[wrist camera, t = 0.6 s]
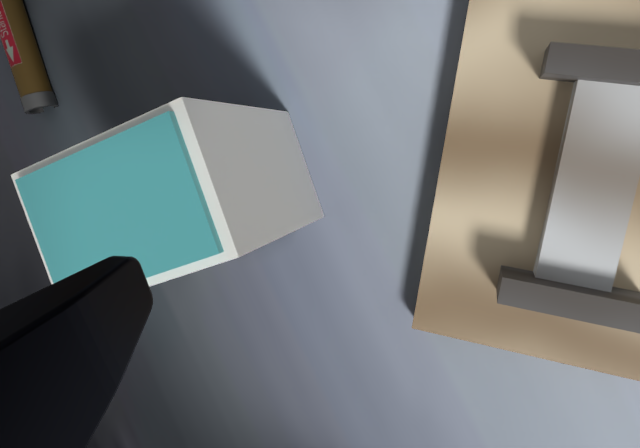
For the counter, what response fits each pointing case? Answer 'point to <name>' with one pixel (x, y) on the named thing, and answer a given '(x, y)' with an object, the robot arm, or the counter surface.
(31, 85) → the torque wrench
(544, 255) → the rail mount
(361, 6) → the counter surface
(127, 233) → the panel
